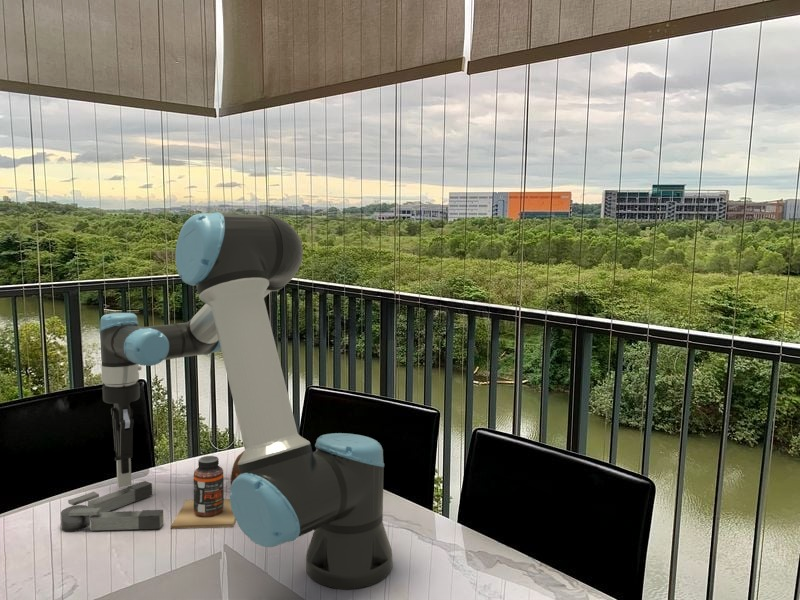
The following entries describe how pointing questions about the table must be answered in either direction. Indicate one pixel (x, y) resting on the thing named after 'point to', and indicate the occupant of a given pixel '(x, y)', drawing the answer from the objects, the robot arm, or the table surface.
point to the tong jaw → (115, 497)
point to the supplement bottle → (208, 487)
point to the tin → (236, 468)
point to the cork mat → (191, 520)
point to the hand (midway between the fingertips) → (124, 485)
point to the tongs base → (109, 519)
